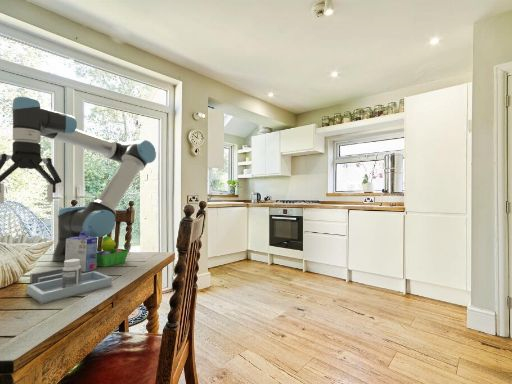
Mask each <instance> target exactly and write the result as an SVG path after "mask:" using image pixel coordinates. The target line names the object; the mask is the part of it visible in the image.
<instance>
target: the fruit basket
mask: <svg viewBox="0 0 512 384" xmlns="http://www.w3.org/2000/svg"><path fill="white" fill-rule="evenodd" d="M100 244H101V246H100V247H101V251H97V266H99V267H103V268H105V267H106V268H107V267H109V266H114V265H119V264H123V263H124V264H125V262H126V260H127V257H128V253H129V252H130V251H129V250H130V249H129V250H128V249H125V248H115V246H117V242H116V241H115V240H114V239H113V238H112V237H111V236H108V235H105V236H103V237H102V242H101V243H100Z"/></svg>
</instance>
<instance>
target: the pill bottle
mask: <svg viewBox="0 0 512 384" xmlns="http://www.w3.org/2000/svg"><path fill="white" fill-rule="evenodd" d="M79 264H80V259H70V260H65V261H63V266H64V267H62V268H63V269H62V288H66V287H70V286H74V285H78V284H81V274H82V271H81V266H80V265H79Z"/></svg>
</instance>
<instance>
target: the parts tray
mask: <svg viewBox="0 0 512 384" xmlns="http://www.w3.org/2000/svg"><path fill="white" fill-rule="evenodd" d="M111 286H113V276H110V275H107V274H104V273H101V272H98V271H96V270H93V271H92V270H91V271H87V272H85V273H81V284H78V285H74V286H70V287H66V288H62V278H59V279H54V280H50V281H45V282H40V283H33V284H31V283H30V284H27V288H26V291H27V292H26V293H27V295H28V296H30V297H31V298H32V299H34V300H35V301H36V302H38V303H39V304H40V305H43V304H47V303H50V302H54V301H57V300H62V299H65V298H70V297H73V296H76V295H81V294H83V293H88V292H89V293H90V292H91V291H96V290H99V289H103V288H107V287H111Z"/></svg>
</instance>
